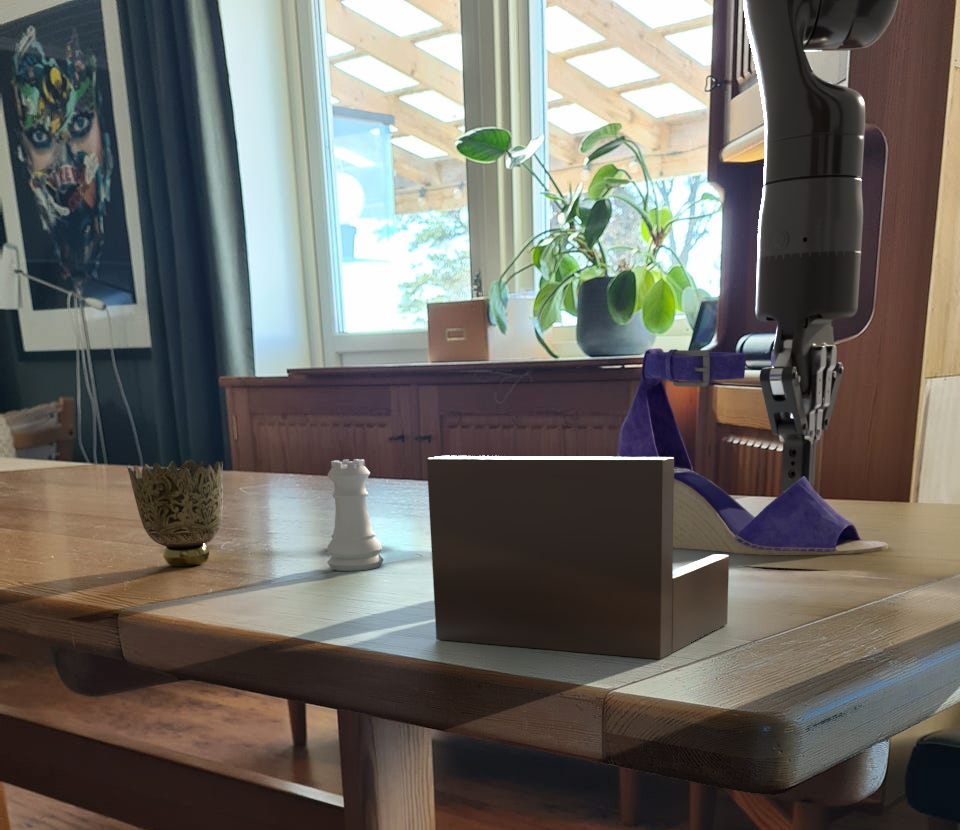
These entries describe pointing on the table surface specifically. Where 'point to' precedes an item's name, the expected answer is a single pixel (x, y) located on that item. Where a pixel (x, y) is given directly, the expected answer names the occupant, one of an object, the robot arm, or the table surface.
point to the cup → (180, 508)
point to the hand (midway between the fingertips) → (797, 490)
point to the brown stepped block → (566, 556)
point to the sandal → (703, 505)
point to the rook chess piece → (352, 520)
